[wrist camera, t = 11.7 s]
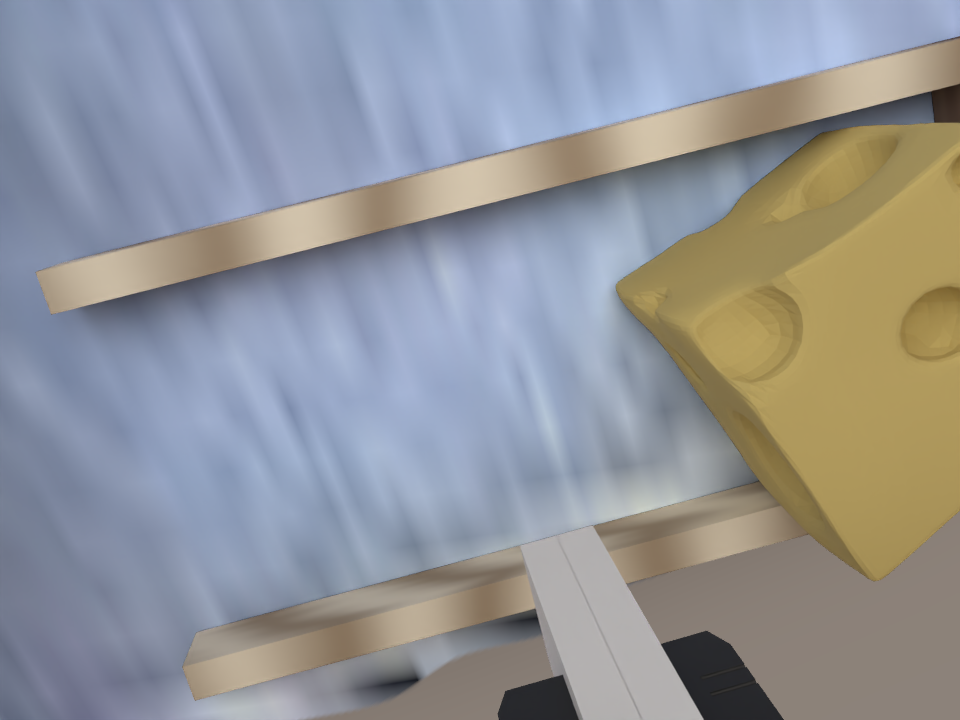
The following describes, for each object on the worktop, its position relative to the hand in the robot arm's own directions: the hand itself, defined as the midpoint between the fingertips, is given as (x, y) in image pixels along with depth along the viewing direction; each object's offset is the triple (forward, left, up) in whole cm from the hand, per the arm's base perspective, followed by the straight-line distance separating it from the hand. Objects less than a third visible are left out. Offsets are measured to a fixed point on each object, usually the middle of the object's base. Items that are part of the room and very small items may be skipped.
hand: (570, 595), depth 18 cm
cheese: (+12, 0, -18) cm, 22 cm away
